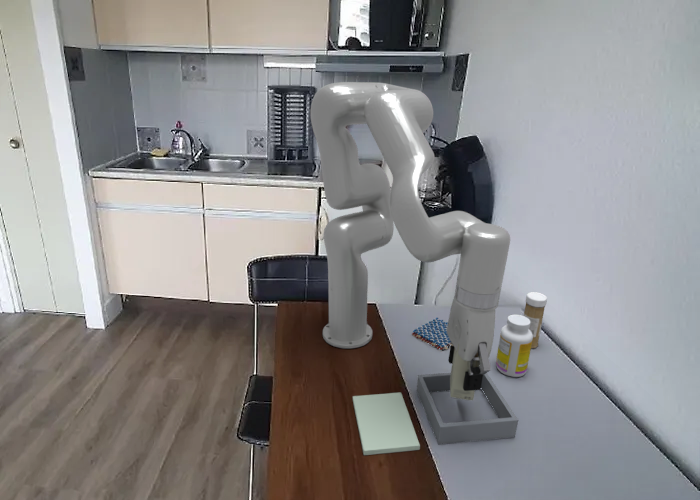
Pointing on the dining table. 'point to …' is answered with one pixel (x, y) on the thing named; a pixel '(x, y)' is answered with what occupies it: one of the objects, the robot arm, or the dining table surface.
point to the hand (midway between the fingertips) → (463, 374)
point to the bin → (469, 429)
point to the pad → (384, 424)
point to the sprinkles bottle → (535, 314)
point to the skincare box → (460, 377)
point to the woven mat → (434, 333)
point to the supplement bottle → (514, 346)
